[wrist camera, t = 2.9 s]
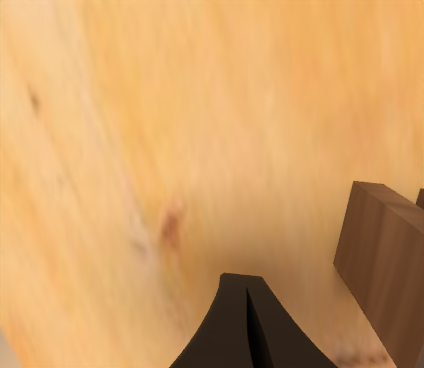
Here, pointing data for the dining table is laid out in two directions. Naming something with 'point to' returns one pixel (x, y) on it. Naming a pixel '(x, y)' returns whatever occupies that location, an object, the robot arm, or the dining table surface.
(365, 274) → the domino
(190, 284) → the dining table surface
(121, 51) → the dining table surface
